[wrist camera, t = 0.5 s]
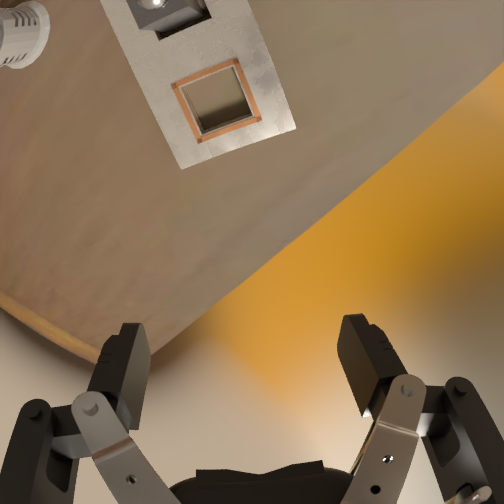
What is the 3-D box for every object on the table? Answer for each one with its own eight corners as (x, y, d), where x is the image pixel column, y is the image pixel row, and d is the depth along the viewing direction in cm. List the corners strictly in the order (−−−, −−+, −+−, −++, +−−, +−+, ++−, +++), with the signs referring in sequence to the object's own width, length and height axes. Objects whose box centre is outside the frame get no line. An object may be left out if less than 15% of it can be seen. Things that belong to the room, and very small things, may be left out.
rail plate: (105, -3, 24) (97, -5, 22) (219, -56, 21) (218, -61, 20) (184, 163, 38) (181, 170, 36) (293, 124, 35) (296, 129, 33)
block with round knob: (153, 1, 25) (117, -11, 17) (190, -15, 25) (167, -36, 16) (167, 32, 28) (136, 29, 19) (204, 16, 27) (186, 5, 18)
